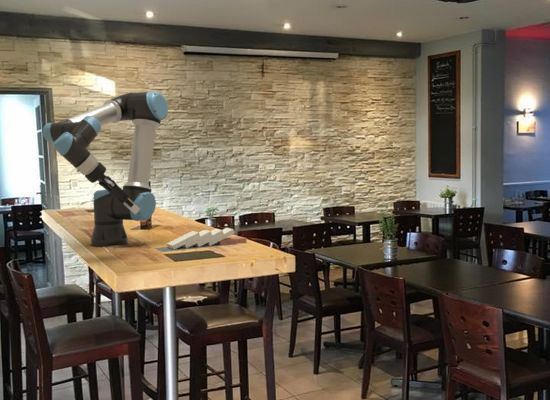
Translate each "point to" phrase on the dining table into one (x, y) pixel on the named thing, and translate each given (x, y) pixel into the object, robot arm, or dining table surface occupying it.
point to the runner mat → (165, 249)
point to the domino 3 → (215, 234)
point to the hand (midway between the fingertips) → (137, 211)
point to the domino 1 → (183, 240)
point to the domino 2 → (203, 235)
